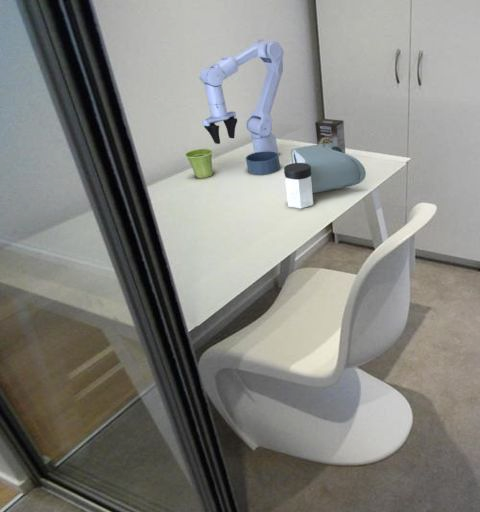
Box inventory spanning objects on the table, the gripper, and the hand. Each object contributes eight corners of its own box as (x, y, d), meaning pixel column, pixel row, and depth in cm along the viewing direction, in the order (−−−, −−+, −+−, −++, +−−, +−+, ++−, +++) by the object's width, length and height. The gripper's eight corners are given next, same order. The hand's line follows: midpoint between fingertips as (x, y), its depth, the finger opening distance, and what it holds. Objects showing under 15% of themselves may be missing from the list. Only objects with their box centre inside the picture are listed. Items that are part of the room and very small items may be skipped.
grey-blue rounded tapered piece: (294, 179, 157) (289, 144, 150) (342, 169, 164) (340, 135, 157) (314, 201, 140) (309, 163, 133) (367, 189, 147) (365, 152, 140)
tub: (262, 162, 174) (259, 149, 171) (286, 165, 169) (284, 153, 166) (241, 172, 165) (238, 159, 162) (266, 176, 160) (264, 163, 157)
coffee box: (318, 163, 170) (314, 122, 161) (326, 158, 175) (322, 118, 166) (339, 166, 167) (335, 124, 158) (346, 161, 172) (343, 119, 163)
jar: (281, 205, 136) (277, 169, 130) (294, 196, 143) (291, 161, 137) (307, 210, 134) (303, 173, 128) (319, 200, 141) (316, 164, 134)
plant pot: (221, 170, 166) (216, 148, 162) (211, 180, 158) (205, 157, 154) (198, 170, 167) (192, 148, 163) (186, 179, 159) (180, 157, 155)
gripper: (210, 108, 150) (218, 147, 157) (239, 100, 161) (246, 136, 168) (195, 107, 153) (204, 145, 160) (224, 98, 164) (232, 134, 171)
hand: (224, 140), depth 164 cm, fingers open, 7 cm apart
